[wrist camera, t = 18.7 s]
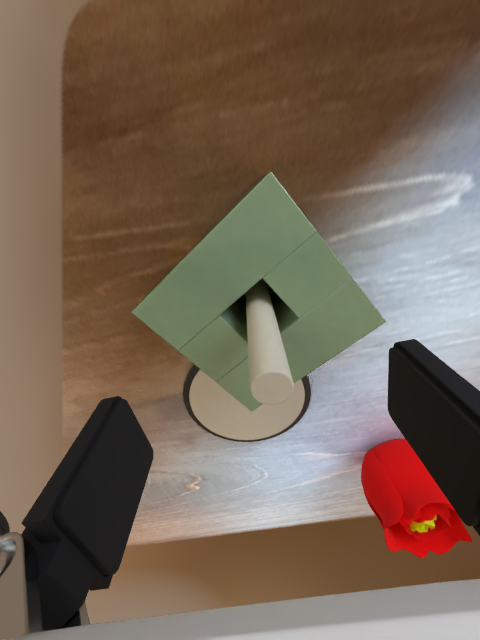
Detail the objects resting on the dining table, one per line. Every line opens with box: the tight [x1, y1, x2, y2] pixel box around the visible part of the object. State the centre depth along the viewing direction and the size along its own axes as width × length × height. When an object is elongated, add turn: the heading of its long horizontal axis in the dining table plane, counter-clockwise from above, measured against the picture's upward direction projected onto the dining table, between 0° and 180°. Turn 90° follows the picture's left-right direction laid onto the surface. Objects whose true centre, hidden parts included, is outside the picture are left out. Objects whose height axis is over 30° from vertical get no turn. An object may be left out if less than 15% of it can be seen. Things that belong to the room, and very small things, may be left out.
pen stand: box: [132, 172, 385, 412], centre depth 18 cm, size 10×10×6 cm
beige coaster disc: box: [183, 365, 311, 442], centre depth 25 cm, size 12×12×1 cm
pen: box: [241, 278, 294, 405], centre depth 15 cm, size 2×2×12 cm
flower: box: [361, 439, 472, 558], centre depth 25 cm, size 8×8×8 cm
